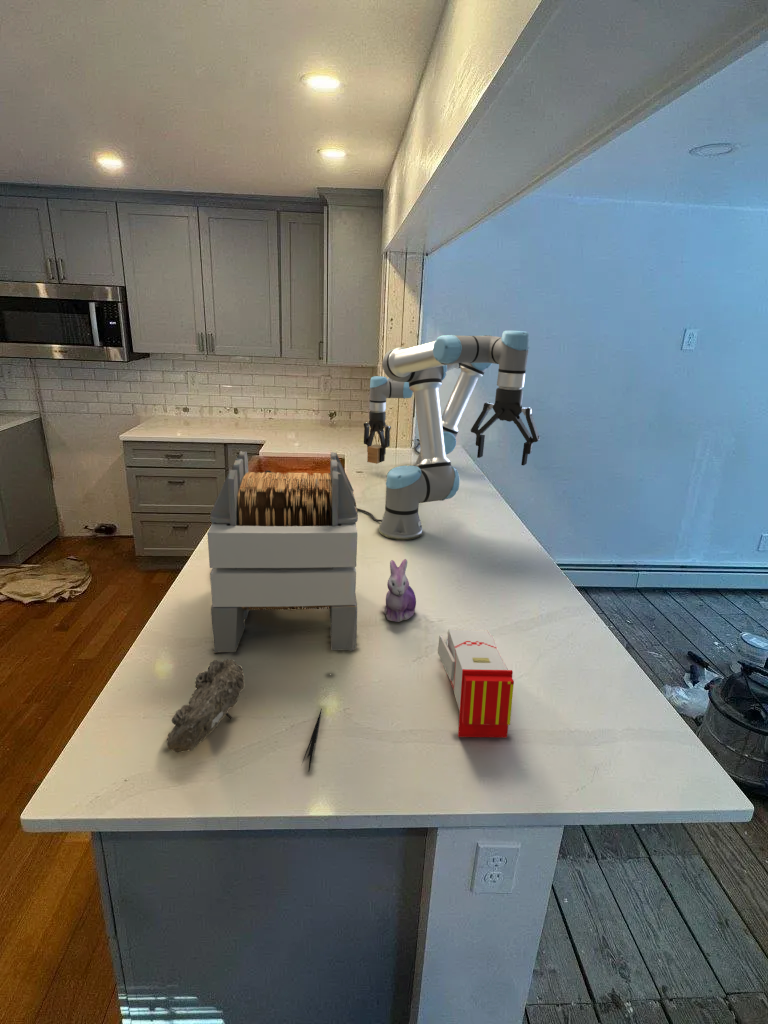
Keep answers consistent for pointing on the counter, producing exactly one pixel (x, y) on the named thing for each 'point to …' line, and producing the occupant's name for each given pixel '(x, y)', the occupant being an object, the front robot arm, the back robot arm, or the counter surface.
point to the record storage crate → (283, 549)
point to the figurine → (399, 594)
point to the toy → (478, 682)
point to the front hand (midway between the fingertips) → (501, 460)
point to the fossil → (206, 705)
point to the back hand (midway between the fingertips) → (376, 460)
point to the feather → (313, 740)
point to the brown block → (374, 454)
